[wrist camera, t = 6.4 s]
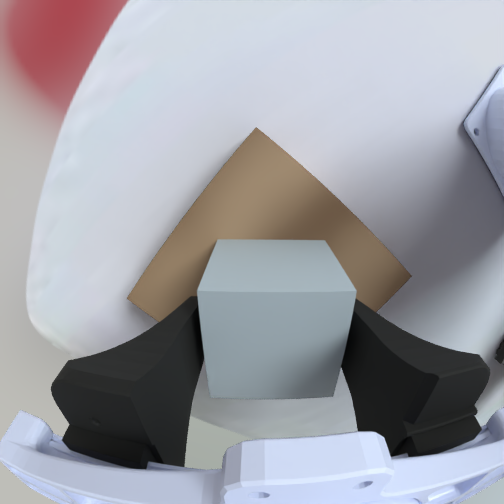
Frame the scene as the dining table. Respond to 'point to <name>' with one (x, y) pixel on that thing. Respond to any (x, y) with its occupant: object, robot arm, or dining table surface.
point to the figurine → (500, 354)
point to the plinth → (265, 229)
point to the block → (274, 319)
